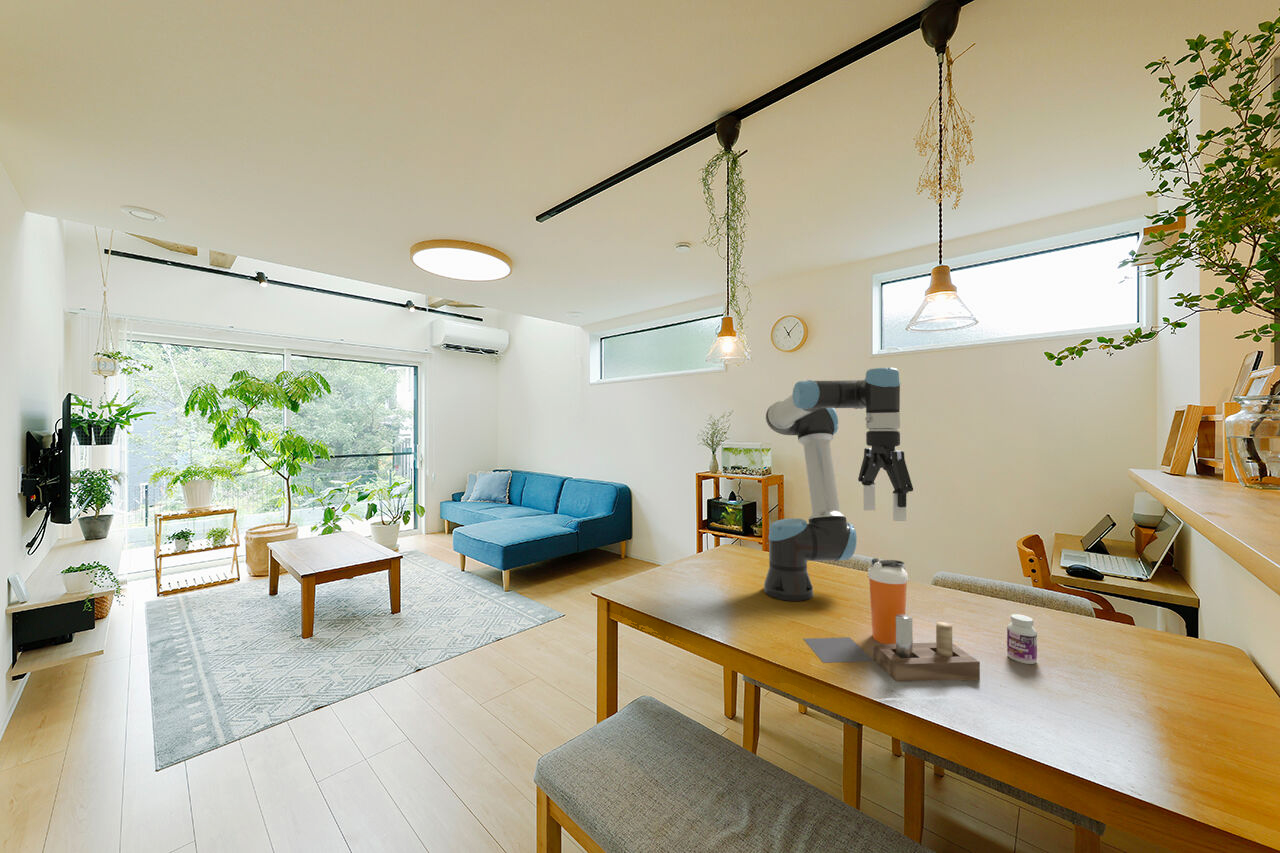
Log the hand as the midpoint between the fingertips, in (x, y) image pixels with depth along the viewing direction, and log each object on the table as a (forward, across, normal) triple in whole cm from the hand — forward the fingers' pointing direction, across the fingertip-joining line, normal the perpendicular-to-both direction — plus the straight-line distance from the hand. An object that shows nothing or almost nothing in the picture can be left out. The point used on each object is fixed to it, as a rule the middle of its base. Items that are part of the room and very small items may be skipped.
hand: (883, 515), depth 117 cm
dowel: (+32, +14, +6) cm, 35 cm away
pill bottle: (+32, +10, +26) cm, 43 cm away
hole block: (+32, +14, +1) cm, 35 cm away
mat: (+32, +4, -14) cm, 35 cm away
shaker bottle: (+32, -1, +1) cm, 32 cm away
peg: (+32, +14, -4) cm, 35 cm away
